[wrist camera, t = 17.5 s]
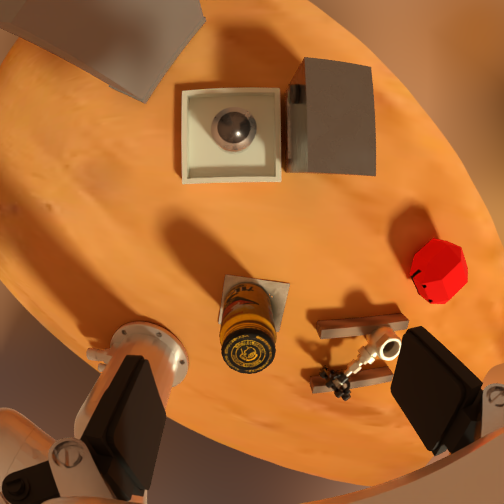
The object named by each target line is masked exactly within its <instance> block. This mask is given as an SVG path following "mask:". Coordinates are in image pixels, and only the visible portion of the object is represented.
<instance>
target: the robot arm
mask: <svg viewBox="0 0 504 504" xmlns="http://www.w3.org/2000/svg"><path fill="white" fill-rule="evenodd" d="M87 358H88V359H89V360H94V361H104V363H105V364H102V363H99V365H98V370H99V371H100V372H102V373H101V375H100V377H99V378H98V380H97V382H96V383H95V385H94V387H93V388H92V390H91V392H90V393H89V395H88V397H87V399H86V400H85V402H84V404H83V405H82V407H81V409H80V411H79V412H78V414H77V417H76V420H75V425H74V436H75V438H71V437H68V438H62V439H60V440H58V441H56V440H54V439H53V438H52V437H50V436H49V435H48V434H47V433H45V432H44V431H43V430H41V429H40V428H39V427H38V426H36V425H35V424H34V423H33V422H31V421H30V420H29V419H27V418H26V417H25V416H23V415H22V414H20V413H19V412H17V411H15V410H13V409H10V408H0V504H147V490H149V488H150V485H151V480H152V475H153V471H154V467H155V462H156V458H157V454H158V450H159V445H160V441H161V437H162V433H163V428H164V425H165V421H166V412H165V409H166V405H167V402H168V398H169V395H170V392H171V388H172V387H174V386H176V385H178V384H179V383H180V382H181V381H182V380H183V379H184V378H185V376H186V374H187V370H188V365H189V362H188V356H187V353H186V350H185V348H184V347H183V345H182V344H181V342H180V341H179V340H178V339H177V338H176V337H175V336H174V335H173V334H172V333H170V332H169V331H167V330H166V329H164V328H162V327H160V326H158V325H156V324H152V323H149V322H142V321H139V322H130V323H127V324H125V325H123V326H121V327H120V328H119V329H118V330H117V331H116V332H115V334H114V335H113V337H112V339H111V343H110V349H108V348H106V349H104V350H99V349H95V348H88V349H87ZM482 384H483V383H482V382H481V381H480V380H479V379H478V378H477V377H476V376H475V375H474V374H473V373H472V372H471V371H470V370H469V369H468V368H467V367H466V366H465V365H464V364H463V363H462V362H461V361H460V360H459V359H458V358H457V357H455V356H454V355H453V354H452V353H451V352H450V351H449V350H448V349H447V348H446V347H445V346H444V345H443V344H441V343H440V342H439V341H438V340H437V339H436V338H435V337H434V336H433V335H431V334H430V333H429V332H428V331H427V330H426V329H425V328H424V327H422V326H419V327H414V328H410V329H408V330H407V331H406V333H405V334H404V335H403V338H402V343H401V348H400V352H399V356H398V361H397V365H396V369H395V373H394V376H393V380H392V384H391V393H392V395H393V397H394V398H395V400H396V401H397V403H398V404H399V406H400V407H401V409H402V411H403V412H404V414H405V415H406V417H407V418H408V420H409V421H410V423H411V425H412V426H413V428H414V429H415V431H416V432H417V434H418V436H419V437H420V439H421V440H422V442H423V444H424V445H425V447H426V448H427V450H429V451H432V453H433V454H434V456H437V455H439V454H441V453H443V452H445V451H446V450H447V449H448V450H449V452H450V453H449V456H447V457H445V458H443V459H441V460H439V461H436V462H434V463H433V464H430V465H428V466H426V467H423V468H421V469H419V470H416V471H414V472H412V473H409V474H407V475H404V476H402V477H399V478H396V479H394V480H391V481H388V482H385V483H382V484H379V485H376V486H373V487H370V488H366V489H363V490H360V491H356V492H352V493H349V494H345V495H341V496H336V497H332V498H327V499H323V500H318V501H312V502H307V503H301V504H504V385H503V384H497V383H496V384H490V385H488V386H487V387H486V388H485V389H484V390H482V389H481V386H482Z"/></svg>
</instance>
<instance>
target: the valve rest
mask: <svg viewBox="0 0 504 504" xmlns="http://www.w3.org/2000/svg"><path fill="white" fill-rule="evenodd" d="M408 323H409V320H408V319H407V318H406V317H405V316H404V315H403V314H402V313H397V314H389V315H380V316H371V317H360V318H349V319H337V320H324V321H317V332H318V334H319V337H320V339H329V338H340V337H350V336H359V335H368V334H371V333H372V332H373V331H374V330H375V329H377V328H378V327H381V326H388V327H390V328H392V329H393V330H394V331H397V330H404V329H407V327H408ZM349 377H350V379H349V380H348V381H349V382H350V389H352V388H358V387H364V386H369V385H375V384H380V383H385V382H390V381H392V378H393V373H392V372H391V370H390V369H389V367H388V366H386V367H380V368H374V369H368V370H362V371H358V372H357V373H356V374H354V373H351V374H350V375H349ZM325 382H326V380H325V379H324V378H322V377H321V376H313V377H310V387H311V390H312V393H322V392H330V391H334V390H333V389H332V388H328V387H327V386H326V385H325ZM343 386H344V388H346V387H347V384H346V383H345V384H344V385H343Z"/></svg>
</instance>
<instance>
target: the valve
mask: <svg viewBox="0 0 504 504" xmlns="http://www.w3.org/2000/svg"><path fill="white" fill-rule="evenodd" d="M366 340H367V342H368V344H367V345H366V346H365V347H364V346H362V347H361V348H360V349H359V350H358V352H359V353H360V354H359V355H358V356H357V357H358V359H357V360H354V359H353V360H352V361H351V362H350V363H349V364H348V365H347V366H348V369H346V370H345V371H344V370H338V371H336V372H335V371H334V370H331V371H330V372H327V369H328V367H327V366H326V365H325V366H324V367H323V368H321V369H320V370H321V372H319V375H320V376H321V377H322V378H324V379H325V380H326V382H325V385H326V386H327V387H328V388H332V389H333V390H334V394H335V396H336V397H338V398H340V397H342V399H343V400H344V401H347V400H348V399H349V398H350V397H351V396H350V393H351V391H350V390H349V389H350V382H349V381H348V380H349V379H350V377H349V375H350V374H351V373H354V374H356V373H357V372H358V371H359V370H360V369H361V368H362V367H361V365H362V364H365V365H366V364H367V363H369V364H372V363H373V362H374V361H375V360H376V359H375V357H376V356H377V355H378V356H379V358H380V359H383V360H393V359H394V358H395V357H396V356H397V355H398V354H399V352H400V348H401V339H400V338H399V337H398V336H397V335H396V334H395V332H394V330H393V329H392V328H390V327H388V326H381V327H378V328H377V329H375V330H374V331H373V332H372V333H371V334H368V335H366ZM345 383H346V384H347V387H346V388H344V386H343V385H344V384H345Z"/></svg>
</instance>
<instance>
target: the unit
mask: <svg viewBox="0 0 504 504" xmlns="http://www.w3.org/2000/svg"><path fill="white" fill-rule="evenodd" d="M285 146H286V172H288V173H322V174H345V175H364V176H376V133H375V110H374V95H373V83H372V73H371V67H368V66H363V65H358V64H352V63H346V62H340V61H333V60H325V59H317V58H308V57H304V59H303V61H302V62H301V64H300V66H299V68H298V70H297V72H296V73H295V75H294V77H293V79H292V81H291V83H290V84H289V86H288V88H287V90H286V92H285Z"/></svg>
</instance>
